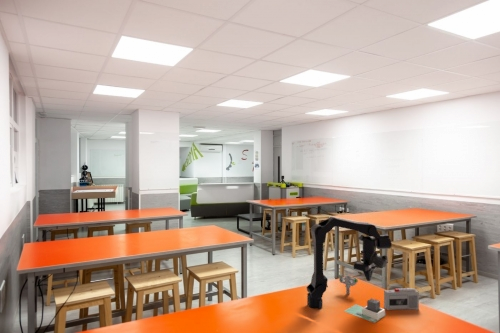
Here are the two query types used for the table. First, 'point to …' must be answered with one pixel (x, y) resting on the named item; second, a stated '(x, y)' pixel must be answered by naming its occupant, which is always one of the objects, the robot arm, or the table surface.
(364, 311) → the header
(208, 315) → the table surface
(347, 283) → the mechanical component
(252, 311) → the table surface
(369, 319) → the board
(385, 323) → the table surface
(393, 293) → the cassette player
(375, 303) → the plug
